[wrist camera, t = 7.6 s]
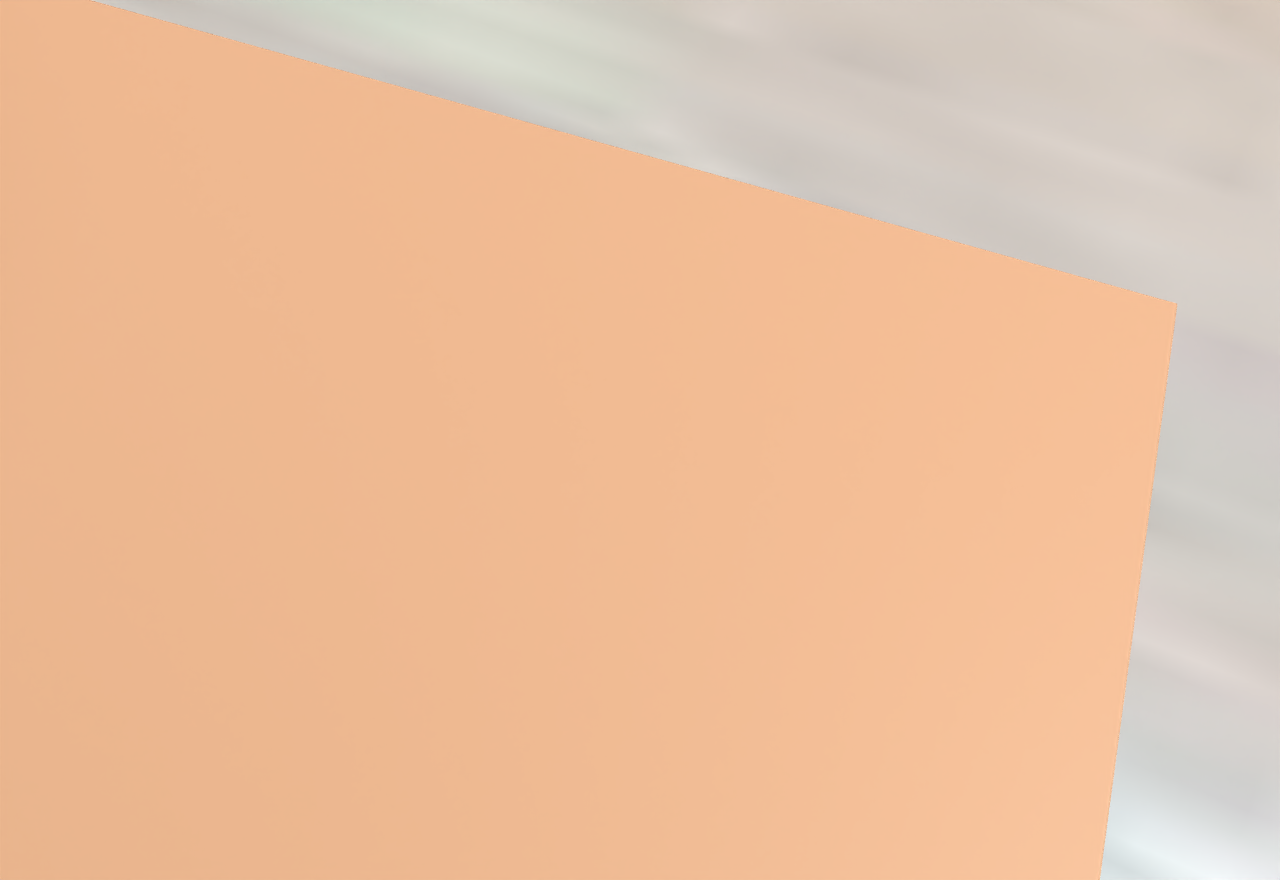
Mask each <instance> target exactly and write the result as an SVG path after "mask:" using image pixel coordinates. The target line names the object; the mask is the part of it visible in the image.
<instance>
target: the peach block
mask: <svg viewBox="0 0 1280 880" xmlns="http://www.w3.org/2000/svg"><path fill="white" fill-rule="evenodd" d="M1176 310H1177V304H1176V303H1173V302H1169V301H1165V300H1162V299H1158V298H1155V297H1151V296H1148V295H1144V294H1140V293H1137V292H1133V291H1130V290H1126V289H1123V288H1119V287H1115V286H1112V285H1108V284H1105V283H1101V282H1097V281H1094V280H1090V279H1087V278H1083V277H1080V276H1076V275H1072V274H1069V273H1065V272H1062V271H1058V270H1054V269H1051V268H1047V267H1044V266H1040V265H1037V264H1033V263H1029V262H1026V261H1022V260H1019V259H1015V258H1012V257H1008V256H1004V255H1001V254H997V253H994V252H990V251H986V250H983V249H979V248H976V247H972V246H969V245H965V244H961V243H958V242H954V241H951V240H947V239H943V238H940V237H936V236H933V235H929V234H926V233H922V232H918V231H915V230H911V229H908V228H904V227H901V226H897V225H893V224H890V223H886V222H883V221H879V220H875V219H872V218H868V217H865V216H861V215H858V214H854V213H850V212H847V211H843V210H840V209H836V208H832V207H829V206H825V205H822V204H818V203H815V202H811V201H807V200H804V199H800V198H797V197H793V196H790V195H786V194H782V193H779V192H775V191H772V190H768V189H764V188H761V187H757V186H754V185H750V184H747V183H743V182H739V181H736V180H732V179H729V178H725V177H721V176H718V175H714V174H711V173H707V172H704V171H700V170H696V169H693V168H689V167H686V166H682V165H679V164H675V163H671V162H668V161H664V160H661V159H657V158H653V157H650V156H646V155H643V154H639V153H636V152H632V151H628V150H625V149H621V148H618V147H614V146H610V145H607V144H603V143H600V142H596V141H593V140H589V139H585V138H582V137H578V136H575V135H571V134H568V133H564V132H560V131H557V130H553V129H550V128H546V127H542V126H539V125H535V124H532V123H528V122H525V121H521V120H517V119H514V118H510V117H507V116H503V115H500V114H496V113H492V112H489V111H485V110H482V109H478V108H474V107H471V106H467V105H464V104H460V103H457V102H453V101H449V100H446V99H442V98H439V97H435V96H431V95H428V94H424V93H421V92H417V91H414V90H410V89H406V88H403V87H399V86H396V85H392V84H389V83H385V82H381V81H378V80H374V79H371V78H367V77H363V76H360V75H356V74H353V73H349V72H346V71H342V70H338V69H335V68H331V67H328V66H324V65H320V64H317V63H313V62H310V61H306V60H303V59H299V58H295V57H292V56H288V55H285V54H281V53H278V52H274V51H270V50H267V49H263V48H260V47H256V46H252V45H249V44H245V43H242V42H238V41H235V40H231V39H227V38H224V37H220V36H217V35H213V34H209V33H206V32H202V31H199V30H195V29H192V28H188V27H184V26H181V25H177V24H174V23H170V22H167V21H163V20H159V19H156V18H152V17H149V16H145V15H141V14H138V13H134V12H131V11H127V10H124V9H120V8H116V7H113V6H109V5H106V4H102V3H98V2H95V1H91V0H0V880H1100V873H1101V866H1102V859H1103V851H1104V844H1105V836H1106V829H1107V821H1108V814H1109V807H1110V799H1111V792H1112V784H1113V777H1114V770H1115V762H1116V755H1117V747H1118V740H1119V732H1120V725H1121V718H1122V710H1123V703H1124V695H1125V688H1126V681H1127V673H1128V666H1129V658H1130V651H1131V644H1132V636H1133V629H1134V621H1135V614H1136V606H1137V599H1138V592H1139V584H1140V577H1141V569H1142V562H1143V555H1144V547H1145V540H1146V532H1147V525H1148V517H1149V510H1150V503H1151V495H1152V488H1153V480H1154V473H1155V466H1156V458H1157V451H1158V443H1159V436H1160V428H1161V421H1162V414H1163V406H1164V399H1165V391H1166V384H1167V377H1168V369H1169V362H1170V354H1171V347H1172V339H1173V332H1174V325H1175V317H1176Z"/></svg>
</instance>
